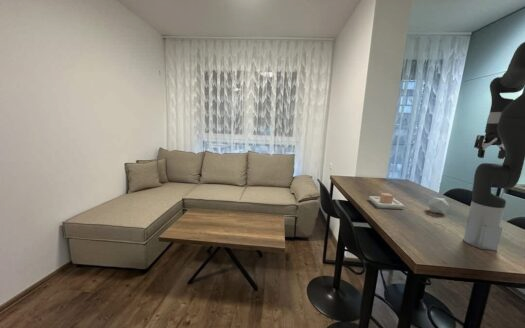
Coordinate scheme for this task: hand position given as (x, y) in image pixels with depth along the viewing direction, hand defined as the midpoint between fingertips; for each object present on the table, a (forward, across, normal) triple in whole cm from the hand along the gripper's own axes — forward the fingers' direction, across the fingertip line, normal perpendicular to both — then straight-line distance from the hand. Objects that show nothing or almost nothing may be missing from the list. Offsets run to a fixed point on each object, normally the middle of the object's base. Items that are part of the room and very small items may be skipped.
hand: (490, 158), depth 102 cm
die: (+33, -9, +14) cm, 37 cm away
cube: (+32, -33, +22) cm, 51 cm away
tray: (+33, -33, +22) cm, 52 cm away
